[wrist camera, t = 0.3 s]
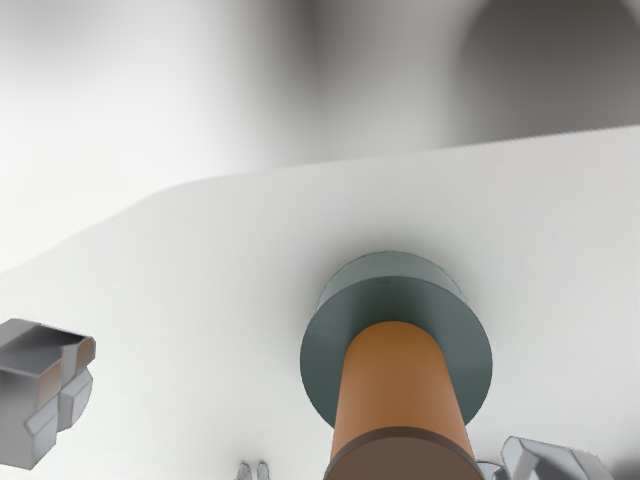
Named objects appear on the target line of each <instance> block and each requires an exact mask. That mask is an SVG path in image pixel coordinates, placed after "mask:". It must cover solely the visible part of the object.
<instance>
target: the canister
mask: <svg viewBox="0 0 640 480" xmlns="http://www.w3.org/2000/svg"><path fill="white" fill-rule="evenodd" d="M323 480H486V479H485V477H484V475H483V473H482V471H481V469H480V468H479V466H478V464H477V463H476V462H475V458H474V455H473V452H472V448H471V445H470V442H469V439H468V435H467V432H466V429H465V425H464V422H463V419H462V416H461V412H460V409H459V406H458V403H457V399H456V396H455V393H454V389H453V386H452V383H451V380H450V376H449V373H448V370H447V366H446V363H445V360H444V357H443V353H442V351H441V349H440V347H439V345H438V344H437V342H436V341H435V340H434V339H433V337H431V336H430V335H429V334H428V333H427V332H426V331H424V330H423V329H421V328H419V327H417V326H415V325H412V324H410V323H406V322H400V321H386V322H381V323H377V324H374V325H371V326H369V327H368V328H366V329H364V330H363V331H361V332H360V333H359V334H358V335H357V336H356V337H355V338H354V339H353V340H352V342H351V343H350V345H349V347H348V349H347V351H346V355H345V359H344V366H343V373H342V380H341V387H340V394H339V401H338V408H337V415H336V422H335V429H334V436H333V443H332V450H331V457H330V463H329V465H328V467H327V470H326V472H325V475H324V479H323Z"/></svg>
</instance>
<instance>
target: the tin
mask: <svg viewBox="0 0 640 480" xmlns="http://www.w3.org/2000/svg"><path fill="white" fill-rule="evenodd" d="M386 321H400V322H406V323H410V324H412V325H415V326H417V327H419V328H421V329H423V330H424V331H426V332H427V333H428V334H429V335H430V336H431V337H433V339H434V340H435V341H436V342H437V344H438V345H439V347H440V349H441V351H442V353H443V357H444V360H445V363H446V366H447V370H448V373H449V376H450V380H451V383H452V386H453V389H454V393H455V396H456V399H457V403H458V406H459V409H460V412H461V416H462V419H463V422H464V425H465V426H466V425H467V424H468V423H469V422H470V421H471V420H472V418H473V417H474V416H475V415H476V413H477V412H478V410H479V409H480V408H481V406H482V404H483V402H484V400H485V398H486V396H487V393H488V390H489V387H490V383H491V377H492V354H491V348H490V345H489V341H488V338H487V336H486V333H485V331H484V328H483V327H482V325H481V323H480V322H479V320H478V318H477V317H476V315H475V314H474V313H473V311H472V310H471V309H470V308H469V306H468V305H467V303H466V301H465V299H464V298H463V296H462V294H461V292H460V290H459V289H458V287H457V285H456V284H455V283H454V281H453V280H452V279H451V278H450V276H448V275H447V274H446V273H445V272H444V271H443V270H442V269H441V268H439V267H438V266H436V265H435V264H434V263H432V262H430V261H428V260H426V259H424V258H421V257H419V256H416V255H413V254H409V253H404V252H379V253H373V254H369V255H366V256H363V257H360V258H358V259H356V260H354V261H352V262H350V263H349V264H347V265H346V266H344V267H343V268H342V269H340V270H339V271H338V272H337V273H336V274H335V275H334V276H333V277H332V278H331V280H330V281H329V282H328V284H327V285H326V287H325V289H324V290H323V292H322V295H321V297H320V300H319V302H318V305H317V308H316V311H315V314H314V316H313V317H312V319H311V321H310V323H309V324H308V327H307V329H306V332H305V335H304V337H303V341H302V346H301V352H300V371H301V376H302V381H303V384H304V387H305V390H306V393H307V395H308V397H309V399H310V401H311V403H312V404H313V406H314V407H315V409H316V410H317V412H318V413H319V414H320V415H321V417H322V418H323V419H324V420H325V421H326V422H327V423H328V424H329V425H330V426H332V427H333V428H334V429H335V422H336V415H337V408H338V401H339V394H340V387H341V380H342V373H343V366H344V359H345V355H346V351H347V349H348V347H349V345H350V343H351V342H352V340H353V339H354V338H355V337H356V336H357V335H358V334H359V333H360V332H361V331H363V330H364V329H366V328H368V327H369V326H371V325H374V324H377V323H381V322H386Z"/></svg>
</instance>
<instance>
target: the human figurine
mask: <svg viewBox="0 0 640 480" xmlns="http://www.w3.org/2000/svg"><path fill="white" fill-rule="evenodd" d="M249 470H250V468H249V467H248V466H247V465H244V464H240V469H239V472H238V476H237V479H234V480H251V474H250V472H249ZM257 476H258V479H257V480H270V479H269V477H268V467H267V465H265V464H260V465H259V467H258V469H257Z"/></svg>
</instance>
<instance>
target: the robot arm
mask: <svg viewBox="0 0 640 480" xmlns="http://www.w3.org/2000/svg"><path fill="white" fill-rule="evenodd" d="M95 350H96V342H95V340H94V339H93V337H91V336H87V335H83V334H79V333H76V332H72V331H68V330H64V329H60V328H56V327H52V326H48V325H42V324H41V323H37V322H33V321H28V320H23V319H13V318H12V319H10V320H8V321H7V322H5V323H3V324H1V325H0V464H4V465H8V466H13V467H18V468H23V469H28V470H32V468H33V467H34V466H35V465H36V464H37V463H38V462H39V461H40V460H41V459H42V458H43V457H44V456H45V455H46V454H47V452H48V451H49V450H50V449H51V448H52V447H53V446H54V445H55V444H56V435H57V433H58V432H60V431H63V430H65V429H68V428H71V427H72V426H73V424H74V423H75V422H76V421H77V420H78V419H79V418H80V416H81V414H82V413H83V411H84V409H85V407H86V405H87V403H88V401H89V397H90V394H91V390H92V382H93V378H92V376H91V374H90V372H89V371H88V369H87V367H86V366H87V365H88V364H89V363H90V362H91V361H92V360H94V359H95ZM501 456H502V459H503V461H504V464H505V465H504V466H503V467H501V468H500V469H498V470H497V471H495V472H494V473H493V475H492V478H491V480H614V479H613V477H612V476H611V475H610V473H609V472H608V471H607V469H606V468H605V467H604V465H603V464H602V462H601V461H600V460H599V458H598V457H597V456H596V455H594V454H592V453H591V452H588V451H583V450H578V449H573V448H568V447H562V446H557V445H552V444H547V443H542V442H538V441H533V440H528V439H523V438H518V437H513V436H510V437H509V438H508V439H507V441H506V442H505V444H504V446H503V449H502V451H501Z"/></svg>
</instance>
